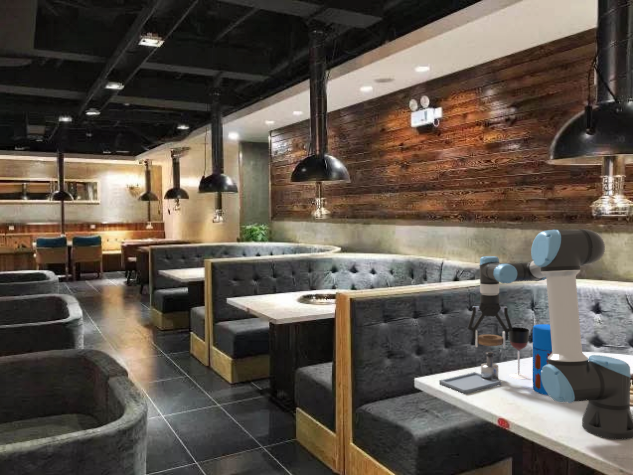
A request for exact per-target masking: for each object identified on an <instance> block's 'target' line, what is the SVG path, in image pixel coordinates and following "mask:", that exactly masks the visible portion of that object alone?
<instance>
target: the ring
mask: <svg viewBox="0 0 633 475" xmlns="http://www.w3.org/2000/svg"><path fill="white" fill-rule="evenodd" d="M477 340H478V344H479V345H482V346H485V347H486V346H487V347H499V346H503V336H501V335H498V334H490V333H489V334H480V335H477Z"/></svg>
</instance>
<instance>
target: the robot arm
mask: <svg viewBox="0 0 633 475" xmlns="http://www.w3.org/2000/svg"><path fill="white" fill-rule="evenodd" d="M605 252H606V245H605V242H604V239H603V238H602V236H600V234H598V232H595V231H594V230H591V229H587V228H586V229H585V228H579V229H578V228H577V229H572V228H571V229H548V230H543V231H540V232H538V234H537V235H535V238H534V239H533V242H532V245H531V253H530V254H531V261H526V262H500V258H499V257H498V256H494V255H493V256H492V255H486V256H481V257H480V258H479V292H480V295H479V297H480V298H479V300H480V301H479V302H480V303H479V306H478V305H477V306H475V305H473V306H472V313H471V315H470V319H469V321H468V325H467V329H468V330H469V331H472V339H474V340H475V343H474V344H475V348H478V344H479V343H478V340H477V336H478V330H477V329H478V327H479V326H480V324H481V323H482V321H483V319H484V318H485V317H495V318H496V319H497V321H498V322H499V325H500V326H501V327H502V329H503V331H502V337H503V344H502V349H506V341H508V340H509V331H512V330H513V329H512V327H513V325H512V323H511V320H510V317H509V314H508V310H509V309H508V307H507V306H501V304H500V294H499V293H500V283H501V284H511V283H517V282H519V283H520V282H540V281H545V280H546V291H547V305H548V315H549V325H550V330H551V342H552V353H551V354H550V355H549V356H548V364H547V365H545V366H543V368H542V370H541V380H542V384H543V386H544V389H545V391H546V392H547V393H548V395H547V396H549V397H550V399H551V400H553V401H555V402H558V403H569V404H570V403H571V404H572V403H577V402H588V404H587V405H586V408H585V411H584V412H583V415H582V420H581V426H582V429H584V430H585V431H586V432H587V433H590V434H592V435H594V436H597V437H600V438H605V439H609V440H617V441H619V440H620V441H621V440H622V441H623V440H630V439H633V414H632V410H631V380H632V379H631V378H632V375H631V367H630V365H629V363H627V362H626V361H624V360H621V359H618V358H617V357H616V358H615V357H612V356H611V357H610V356H605V355H600V354H591V355H589V356H588V357H587V356H586V355H585V354H584V353H583V346H582V334H581V325H580V312H579V301H578V300H579V299H578V288H577V287H578V286H577V277H576V276H578V274H579V273H581V267H586V266H589V265H592V264H595V263H597V262H599V261H600V260H601V259H602V258H603V256H604V254H605ZM479 310H480V312H481V314H480V315H479V317H478V318H477V320H476V322H475V324H474V320H475V318H476V314H477V312H479ZM500 311H501V312H502V313H503V315H504V318H505V320H506V323H507V326H506V325H505V323H504V321H503V320H502V318H501V316H500V315H499V312H500ZM473 324H474V325H473Z"/></svg>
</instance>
